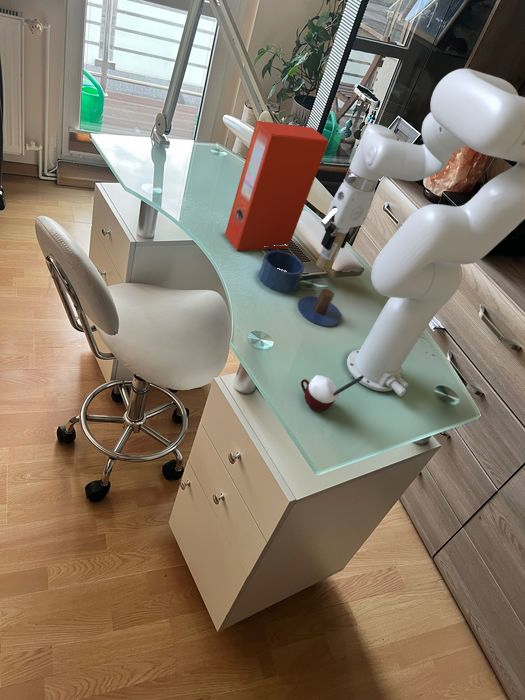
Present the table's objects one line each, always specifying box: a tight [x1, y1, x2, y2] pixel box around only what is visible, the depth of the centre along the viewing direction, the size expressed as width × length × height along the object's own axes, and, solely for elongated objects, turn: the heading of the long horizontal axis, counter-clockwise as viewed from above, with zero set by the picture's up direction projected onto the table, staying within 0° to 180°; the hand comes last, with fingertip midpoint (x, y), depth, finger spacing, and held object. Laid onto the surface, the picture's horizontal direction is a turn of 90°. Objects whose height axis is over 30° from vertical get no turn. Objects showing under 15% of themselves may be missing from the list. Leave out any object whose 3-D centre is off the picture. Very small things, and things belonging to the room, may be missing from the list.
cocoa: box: [300, 374, 364, 412], centre depth 97 cm, size 10×6×12 cm, turn 34°
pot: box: [258, 249, 305, 294], centre depth 128 cm, size 10×10×6 cm
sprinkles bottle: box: [315, 225, 350, 272], centre depth 130 cm, size 5×5×14 cm
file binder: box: [224, 120, 329, 251], centre depth 133 cm, size 8×17×32 cm, turn 121°
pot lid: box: [297, 288, 342, 328], centre depth 123 cm, size 11×11×7 cm
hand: (332, 245), depth 130 cm, fingers closed on sprinkles bottle, 4 cm apart
